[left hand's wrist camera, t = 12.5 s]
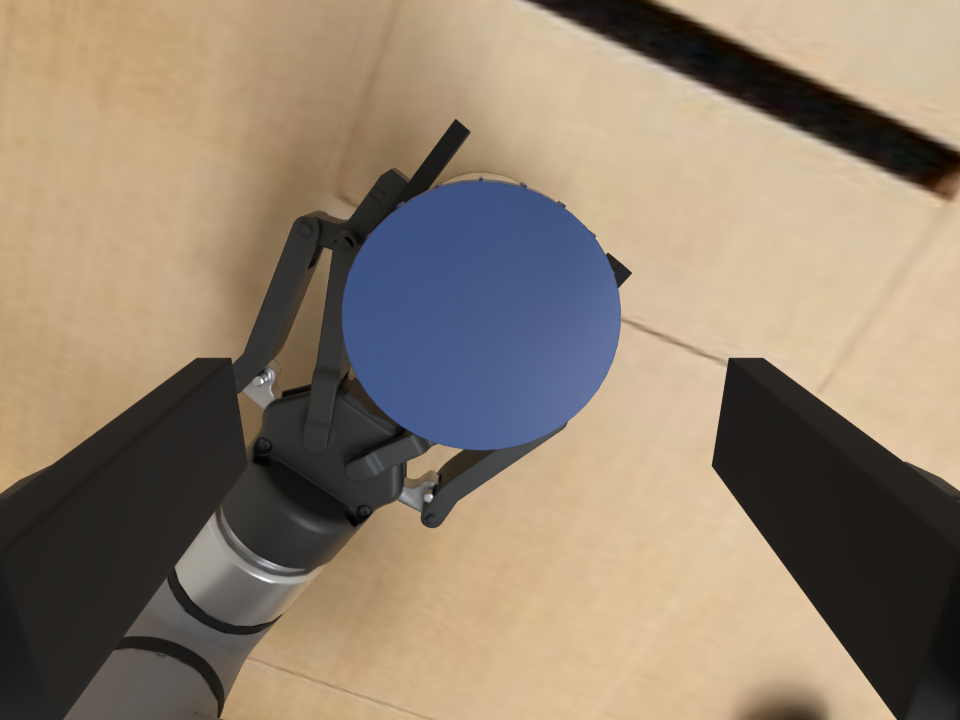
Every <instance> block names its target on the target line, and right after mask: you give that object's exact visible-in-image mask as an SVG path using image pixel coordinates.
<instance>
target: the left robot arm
mask: <svg viewBox="0 0 960 720" xmlns="http://www.w3.org/2000/svg"><path fill="white" fill-rule="evenodd" d="M247 467H248V461H247V455H246V449H245V442H244V436H243V430H242V423H241V417H240V411H239V404H238V398H237V392H236V385H235V379H234V373H233V366H232V360H231V358H196V359H195V360H193V361H192V362H191V363H189V364H188V365H187V366H185V367H184V368H183V369H181V370H180V371H178V372H177V373H176V374H174V375H173V376H172V377H170V378H169V379H168V380H166V381H165V382H164V383H162V384H161V385H160V386H158V387H157V388H155V389H154V390H153V391H151V392H150V393H149V394H147V395H146V396H145V397H143V398H142V399H141V400H139V401H138V402H137V403H135V404H134V405H132V406H131V407H130V408H128V409H127V410H126V411H124V412H123V413H122V414H120V415H119V416H118V417H116V418H115V419H114V420H112V421H111V422H110V423H108V424H107V425H105V426H104V427H103V428H101V429H100V430H99V431H97V432H96V433H95V434H93V435H92V436H91V437H89V438H88V439H87V440H85V441H84V442H82V443H81V444H80V445H78V446H77V447H76V448H74V449H73V450H72V451H70V452H69V453H68V454H66V455H65V456H64V457H62V458H61V459H59V460H58V461H57V462H55V463H54V464H53V465H51V466H49V467H46V468H44V469H42V470H40V471H38V472H36V473H34V474H32V475H29V476H27V477H25V478H23V479H21V480H19V481H18V482H16V483H15V484H13V485H12V486H11V487H9V488H8V489H7V490H5V491H4V492H2V493H1V494H0V720H63V719H64V718H65V716H66V715H67V714H68V712H69V711H70V709H71V708H72V707H73V705H74V704H75V703H76V701H77V700H78V699H79V697H80V696H81V694H82V693H83V692H84V690H85V689H86V688H87V686H88V685H89V683H90V682H91V681H92V679H93V678H94V677H95V675H96V674H97V673H98V671H99V670H100V668H101V667H102V666H103V664H104V663H105V662H106V660H107V659H108V657H109V656H110V655H111V653H112V652H113V651H114V649H115V648H116V646H117V645H118V644H119V642H120V641H121V640H122V638H123V637H124V636H125V634H126V633H127V631H128V630H129V629H130V627H131V626H132V625H133V623H134V622H135V620H136V619H137V618H138V616H139V615H140V614H141V612H142V611H143V609H144V608H145V607H146V605H147V604H148V603H149V601H150V600H151V599H152V597H153V596H154V594H155V593H156V592H157V590H158V589H159V588H160V586H161V585H162V583H163V582H164V581H165V579H166V578H167V577H168V575H169V574H170V572H171V571H172V570H173V568H174V567H175V566H176V564H177V563H178V562H179V560H180V559H181V557H182V556H183V555H184V553H185V552H186V551H187V549H188V548H189V546H190V545H191V544H192V542H193V541H194V540H195V538H196V537H197V536H198V534H199V533H200V531H201V530H202V529H203V527H204V526H205V525H206V523H207V522H208V520H209V519H210V518H211V516H212V515H213V514H214V512H215V511H216V509H217V508H218V507H219V505H220V504H221V503H222V501H223V500H224V499H225V497H226V496H227V494H228V493H229V492H230V490H231V489H232V488H233V486H234V485H235V483H236V482H237V481H238V479H239V478H240V477H241V475H242V474H243V472H244V471H245V470H246V468H247ZM712 467H713V468H714V470H715V471H716V472H717V474H718V475H719V477H720V478H721V479H722V481H723V482H724V483H725V485H726V486H727V488H728V489H729V490H730V492H731V493H732V494H733V496H734V497H735V499H736V500H737V501H738V503H739V504H740V505H741V507H742V508H743V509H744V511H745V512H746V514H747V515H748V516H749V518H750V519H751V520H752V522H753V523H754V525H755V526H756V527H757V529H758V530H759V531H760V533H761V534H762V536H763V537H764V538H765V540H766V541H767V542H768V544H769V545H770V546H771V548H772V549H773V551H774V552H775V553H776V555H777V556H778V557H779V559H780V560H781V562H782V563H783V564H784V566H785V567H786V568H787V570H788V571H789V572H790V574H791V575H792V577H793V578H794V579H795V581H796V582H797V583H798V585H799V586H800V588H801V589H802V590H803V592H804V593H805V594H806V596H807V597H808V599H809V600H810V601H811V603H812V604H813V605H814V607H815V608H816V609H817V611H818V612H819V614H820V615H821V616H822V618H823V619H824V620H825V622H826V623H827V625H828V626H829V627H830V629H831V630H832V631H833V633H834V634H835V636H836V637H837V638H838V640H839V641H840V642H841V644H842V645H843V646H844V648H845V649H846V651H847V652H848V653H849V655H850V656H851V657H852V659H853V660H854V662H855V663H856V664H857V666H858V667H859V668H860V670H861V671H862V673H863V674H864V675H865V677H866V678H867V679H868V681H869V682H870V683H871V685H872V686H873V688H874V689H875V690H876V692H877V693H878V694H879V696H880V697H881V699H882V700H883V701H884V703H885V704H886V705H887V707H888V708H889V709H890V711H891V712H892V714H893V715H894V716H895V718H896V719H897V720H960V491H959V490H957V489H956V488H954V487H953V486H952V485H950V484H949V483H947V482H946V481H945V480H943V479H942V478H940V477H938V476H936V475H934V474H932V473H929V472H927V471H925V470H923V469H921V468H919V467H917V466H914V465H912V464H910V463H908V462H903V461H902V460H901V459H899V458H898V457H896V456H895V455H894V454H892V453H891V452H890V451H888V450H887V449H886V448H884V447H883V446H882V445H880V444H879V443H878V442H876V441H875V440H873V439H872V438H871V437H869V436H868V435H867V434H865V433H864V432H863V431H861V430H860V429H859V428H857V427H856V426H855V425H853V424H852V423H850V422H849V421H848V420H846V419H845V418H844V417H842V416H841V415H840V414H838V413H837V412H836V411H834V410H833V409H832V408H830V407H829V406H828V405H826V404H825V403H823V402H822V401H821V400H819V399H818V398H817V397H815V396H814V395H813V394H811V393H810V392H809V391H807V390H806V389H805V388H803V387H802V386H800V385H799V384H798V383H796V382H795V381H794V380H792V379H791V378H790V377H788V376H787V375H786V374H784V373H783V372H782V371H780V370H779V369H777V368H776V367H775V366H773V365H772V364H771V363H769V362H768V361H767V360H765V359H764V358H729V360H728V366H727V373H726V379H725V385H724V392H723V398H722V404H721V411H720V417H719V423H718V430H717V436H716V442H715V449H714V455H713V461H712Z"/></svg>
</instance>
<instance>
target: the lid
mask: <svg viewBox="0 0 960 720" xmlns="http://www.w3.org/2000/svg"><path fill="white" fill-rule="evenodd" d="M403 204H404V205H403ZM565 207H566V205H564V204H563V203H561V202H560V201H558V202H557V203H556V202H555V201H553V200H552V199H551V198H549V197H547V196H545V195H543V194H541V193H539V192H537V191H535V190H533V189H531V188H528V187H527V185H525V184H524V183H522V182H521V184H520V185H519V184H516V183H511V182H506V181H501V180H491V179H483V178H482V176H479V179H472V180H461V181H456V182H452V183H447V184H443V185H441V183H438V184H437V185H435V188H432V189H429V190H427V191H425V192H423V193H421V194H419V195H418V196H416V197H414V198H412V199H410V200H409V201H408V202H406V203H404V202H401V203H400V204H399V205H397V206H396V208H397V210H395V211H394V212H392V213H391V214H390V215H389V216H388V217H387V218H386V219H385V220H383V221H382V222H381V223H380V224H379V225H378V226H377V227H376V228H375V230H374V231H372V232H371V233H370V234H368V235H367V236H366V238H367V240H366V241H365V242H364V244H363V246H362V247H361V249H360V251H359V253H358V254H357V256H356V258H355V260H354V262H353V265H352V267H351V270H350V271H349V272H348V278H347V282H346V286H345V290H344V295H343V304H342V330H343V336H344V342H345V347H346V350H347V353H348V357H349V360H350V363H351V365H352V367H353V369H354V372H355V374H356V376H357V378H358V380H359V381H360V383H361V384H362V386H363V388H364V389H365V391H366V392H367V394H368V395H369V396H370V397H371V399H372V400H373V401H374V402H375V403H376V405H377V406H378V407H379V408H380V409H381V410H382V411H384V412H385V413H386V414H387V415H388V416H389V417H390V418H391V419H393V420H394V421H395V422H397V423H398V424H399V425H401V426H402V427H404V428H405V429H407V430H409V431H411V432H412V433H414V434H416V435H418V436H420V437H422V438H425V439H427V440H429V441H432V442H435V443H438V444H441V445H445V446H448V447H454V448H460V449H467V450H495V449H503V448H509V447H514V446H518V445H521V444H524V443H528V442H531V441H533V440H536V439H538V438H540V437H542V436H545V435H547V434H549V433H550V432H552V431H554V430H555V429H557V428H559V427H561V426H562V425H563V424H565V423H566V422H567V421H569V420H570V419H571V418H572V417H574V416H575V415H576V414H577V413H578V412H579V411H580V410H581V409H582V408H583V407H584V406H585V405H586V404H587V403H588V402H589V400H590V399H591V398H592V397H593V395H594V394H595V393H596V392H597V390H598V389H599V387H600V385H601V384H602V382H603V380H604V379H605V377H606V375H607V373H608V371H609V368H610V366H611V364H612V362H613V359H614V356H615V352H616V349H617V345H618V340H619V333H620V327H621V307H620V298H619V291H618V287H617V283H616V280H615V276H614V274H615V273H614V271H613V270H612V268H611V266H610V263H609V261H608V258H607V256H606V255H605V253H604V251H603V250H602V248H601V246H600V245H599V243H598V241H597V240H596V239H595V237H596V236H595V234H593V233H592V232H591V231H590V230H588V229H587V228H586V226H585V225H583V224H582V223H581V222H580V221H579V220H578V219H577V218H576V217H575V216H574V215H573V214H572V213H570V212H569V211H568V210H566V209H565Z"/></svg>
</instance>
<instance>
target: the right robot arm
mask: <svg viewBox="0 0 960 720" xmlns="http://www.w3.org/2000/svg"><path fill="white" fill-rule="evenodd" d="M470 133H471V132H470V131H469V130H468V129H467V128H466V127H464V126H463V125H462V124H461V123H460V122H459V121H458V120H456V119H455V120H454V122H453V123H452V124H451V126H450V127H449V128H448V130H447V131H446V133H445V134H444V135H443V137H442V138H441V139H440V141H439V142H438V143H437V145H436V146H435V147H434V149H433V150H432V151H431V153H430V154H429V156H428V157H427V158H426V160H425V161H424V162H423V164H422V165H421V166H420V168H419V169H418V170H417V172H416V173H415V174H414V176H413V177H412V179H411V180H410V179H409V178H407V177H406V176H405V175H404V174H403V173H401V172H400V171H399V170H398V169H397V168H394V169H391V170H389V171H388V172H386V173H384V174H383V175H381V176H380V178H379V179H378V180H377V182H376V183H375V185H374V186H373V187H372V189H371V190H370V192H369V193H368V194H367V196H366V197H365V199H364V200H363V201H362V203H361V204H360V205H359V207H358V208H357V210H356V211H355V212H354V214H353V215H352V217H351V218H350V219H348V220H341V219H338V218H335V217H332V216H329V215H328V214H327V213H325V212H323V211H315V212H312V213H309V214H307V215H304V216H302V217H300V218H298V219H296V221H295V222H294V224H293V226H292V229H291V231H290V234H289V237H288V239H287V242H286V244H285V247H284V250H283V252H282V255H281V257H280V260H279V263H278V265H277V268H276V270H275V273H274V276H273V278H272V281H271V283H270V286H269V289H268V291H267V294H266V296H265V299H264V302H263V304H262V307H261V309H260V312H259V315H258V317H257V320H256V322H255V325H254V328H253V330H252V333H251V335H250V338H249V341H248V343H247V346H246V348H245V351H244V353H243V354H242V355H241V356H240V357H239V358H238V359H237V360H236V361H235V363H234V364H233V365H232V366H233V373H234V379H235V385H236V392H237V394H238V393H240V392H243V393H244V394H245V395H246V396H248V397H249V398H250V399H251V400H252V401H254V402H255V403H256V404H257V405H258V406H259V407H261V408H262V409H263V410H264V412H263V417H262V427H261V430H260V432H259V433H258V434H257V436H256V437H255V438H254V440H253V441H252V442H251V444H250V445H249V446H248V448H247V449H246V455H247V461H248V467H247V468H246V470H245V471H244V472H243V474H242V475H241V477H240V478H239V479H238V481H237V482H236V483H235V485H234V486H233V488H232V489H231V490H230V492H229V493H228V494H227V496H226V497H225V499H224V500H223V501H222V503H221V504H220V505H219V507H218V508H217V509H216V511H215V512H214V514H213V515H212V516H211V518H210V519H209V520H208V522H207V523H206V525H205V526H204V527H203V529H202V530H201V531H200V533H199V534H198V536H197V537H196V538H195V540H194V541H193V542H192V544H191V545H190V546H189V548H188V549H187V551H186V552H185V553H184V555H183V556H182V557H181V559H180V560H179V562H178V563H177V564H176V566H175V567H174V568H173V570H172V571H171V572H170V574H169V575H168V577H167V578H166V579H165V581H164V582H163V583H162V585H161V586H160V588H159V589H158V590H157V592H156V593H155V594H154V596H153V597H152V599H151V600H150V601H149V603H148V604H147V605H146V607H145V608H144V609H143V611H142V612H141V614H140V615H139V616H138V618H137V619H136V620H135V622H134V623H133V625H132V626H131V627H130V629H129V630H128V631H127V633H126V634H125V636H124V637H123V638H122V640H121V641H120V642H119V644H118V645H117V646H116V648H115V649H114V651H113V652H112V653H111V655H110V656H109V657H108V659H107V660H106V662H105V663H104V664H103V666H102V667H101V668H100V670H99V671H98V673H97V674H96V675H95V677H94V678H93V679H92V681H91V682H90V683H89V685H88V686H87V688H86V689H85V690H84V692H83V693H82V694H81V696H80V697H79V699H78V700H77V701H76V703H75V704H74V705H73V707H72V708H71V709H70V711H69V712H68V714H67V715H66V716H65V718H64V719H63V720H222V719H219V718H220V716H221V713H222V710H223V707H224V703H225V701H226V699H227V697H228V695H229V693H230V690H231V688H232V686H233V684H234V682H235V680H236V677H237V675H238V673H239V671H240V669H241V667H242V665H243V663H244V661H245V660H246V658H247V657H248V655H249V654H250V652H251V651H252V649H253V648H254V647H255V646H256V644H257V643H258V642H259V641H260V640H261V639H262V637H263V636H264V635H265V634H266V633H267V631H268V630H269V629H270V628H271V627H272V626H273V625H274V623H275V622H276V621H277V620H278V619H279V618H280V617H281V616H282V615H283V613H284V612H285V611H286V610H287V609H288V608H289V607H290V606H291V605H292V603H293V602H294V601H295V600H296V599H297V598H298V597H299V596H300V595H301V594H302V592H303V591H304V590H305V589H306V588H307V587H308V586H309V585H310V584H311V583H312V582H313V580H314V579H315V578H316V577H317V576H318V575H319V574H320V573H321V572H322V571H323V569H324V568H325V566H326V564H327V563H328V562H329V561H330V560H332V559H333V558H334V557H335V556H336V554H337V553H338V552H339V551H340V550H341V549H342V548H343V547H344V545H345V544H346V543H347V542H348V541H349V540H350V539H351V538H352V536H353V535H354V534H355V533H356V532H357V531H358V530H359V529H360V527H361V526H362V525H363V524H364V523H365V522H366V521H367V520H368V518H369V517H370V516H371V515H372V514H373V512H374V511H375V510H377V509H378V508H380V507H382V506H384V505H387V504H390V503H392V502H394V501H396V500H398V501H400V502H402V503H404V504H406V505H408V506H410V507H411V508H413V509H415V510H417V511H419V512H421V522H422V523H423V525H425V526H426V527H429V528H436V527H438V526H440V525H441V524H442V522H443V521H444V519H445V518H446V517H447V515H448V514H449V512H450V511H451V510H452V508H453V507H454V505H455V504H456V502H457V501H458V500H460V499H461V498H463V497H464V496H466V495H467V494H469V493H470V492H472V491H473V490H475V489H476V488H478V487H479V486H480V485H482V484H483V483H485V482H486V481H488V480H489V479H491V478H492V477H494V476H495V475H497V474H498V473H500V472H501V471H502V470H504V469H505V468H507V467H508V466H510V465H511V464H513V463H514V462H516V461H517V460H519V459H520V458H522V457H523V456H524V455H526V454H527V453H529V452H530V451H532V450H533V449H535V448H536V447H538V446H539V445H541V444H542V443H544V442H545V441H546V440H548V439H549V438H551V437H552V436H554V435H555V434H557V433H558V432H560V431H561V430H563V429H564V428H565V427H566V425H567V422H566V423H565V424H563V425H562V426H561V427H559V428H557V429H555V430H554V431H552V432H550V433H549V434H547V435H545V436H542V437H540V438H538V439H536V440H533V441H531V442H528V443H524V444H521V445H518V446H514V447H509V448H503V449H495V450H467V449H464V450H463V451H461V452H460V453H458V454H457V455H456V456H454V457H453V458H451V459H450V460H449V461H448V462H446V463H445V464H444V465H443V466H442V467H441V469H440V470H439V471H438V472H437V473H436V472H435V471H433V470H431V471H428V472H427V473H425V474H424V475H422V476H421V477H420V478H418V479H409V478H407V477H406V474H407V461H408V460H411V459H413V458H416V457H418V456H420V455H422V454H424V453H425V452H426V451H427V450H428V449H429V448H430V447H432V446H434V445H436V444H438V443H435V442H432V441H429V440H427V439H425V438H422V437H420V436H418V435H416V434H414V433H412V432H411V431H409V430H407V429H405V428H404V427H402V426H401V425H399V424H398V423H397V422H395V421H394V420H393V419H391V418H390V417H389V416H388V415H387V414H386V413H385V412H384V411H382V410H381V409H380V408H379V407H378V406H377V405H376V403H375V402H374V401H373V400H372V399H371V397H370V396H369V395H368V394H367V392H366V391H365V389H364V388H363V386H362V384H361V383H360V381H359V380H358V379H356V378H354V379H353V380H350V379H349V374H350V368H351V363H350V360H349V357H348V353H347V350H346V347H345V342H344V336H343V330H342V304H343V295H344V290H345V286H346V282H347V278H348V272H349V271H350V270H351V267H352V265H353V262H354V260H355V258H356V256H357V254H358V253H359V251H360V249H361V247H362V246H363V244H364V242H365V241H366V240H367V238H366V236H367V235H368V234H370V233H371V232H372V231H374V230H375V228H376V227H377V226H378V225H379V224H380V223H381V222H382V221H383V220H385V219H386V218H387V217H388V216H389V215H390V214H391V213H392V212H394V211H395V210H397V208H396V206H397V205H399V204H400V203H401V202H404V203H406V202H408V201H409V200H410V199H412V198H414V197H416V196H418V195H419V194H421V193H423V192H425V191H427V190H428V189H429V187H430V186H431V185H432V183H433V182H434V181H435V179H436V178H437V177H438V175H439V174H440V173H441V171H442V170H443V169H444V167H445V166H446V165H447V163H448V162H449V161H450V159H451V158H452V157H453V155H454V154H455V153H456V152H457V150H458V149H459V148H460V146H461V145H462V144H463V142H464V141H465V140H466V138H467V137H468V136H469V134H470ZM403 205H404V204H403ZM324 247H325V248H328V249H331V250H333V252H332V259H331V266H330V273H329V280H328V287H327V294H326V301H325V308H324V315H323V322H322V330H321V337H320V344H319V351H318V358H317V364H316V368H315V371H314V374H313V378H312V384H310V385H306V386H302V387H298V388H294V389H290V390H286V391H283V392H282V391H281V390H280V389H279V387H278V385H277V379H278V377H279V375H280V372H281V369H280V366H279V363H278V361H276V360H274V358H275V357H276V356H277V355H278V353H279V352H280V350H281V349H282V347H283V346H284V344H285V342H286V339H287V337H288V335H289V332H290V330H291V327H292V325H293V322H294V320H295V317H296V315H297V313H298V310H299V308H300V305H301V303H302V300H303V298H304V295H305V293H306V290H307V288H308V286H309V283H310V281H311V278H312V276H313V273H314V271H315V268H316V266H317V264H318V261H319V259H320V256H321V254H322V251H323V249H324ZM606 256H607V258H608V261H609V263H610V266H611V268H612V270H613V271H614V273H615V274H614V276H615V280H616V283H617V287H618V288H619V287H620V286H621V285H622V284H623V283H624V281H625V280H626V279H627V278H628V277H629V276H630V275H631V274H632V272H630V271H629V270H628V269H627V268H626V267H625V266H624V265H622V264H621V263H620V262H619V261H618V260H616V259H615V258H614V257H613V256H612V255H610V254H609V253H607V254H606Z"/></svg>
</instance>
